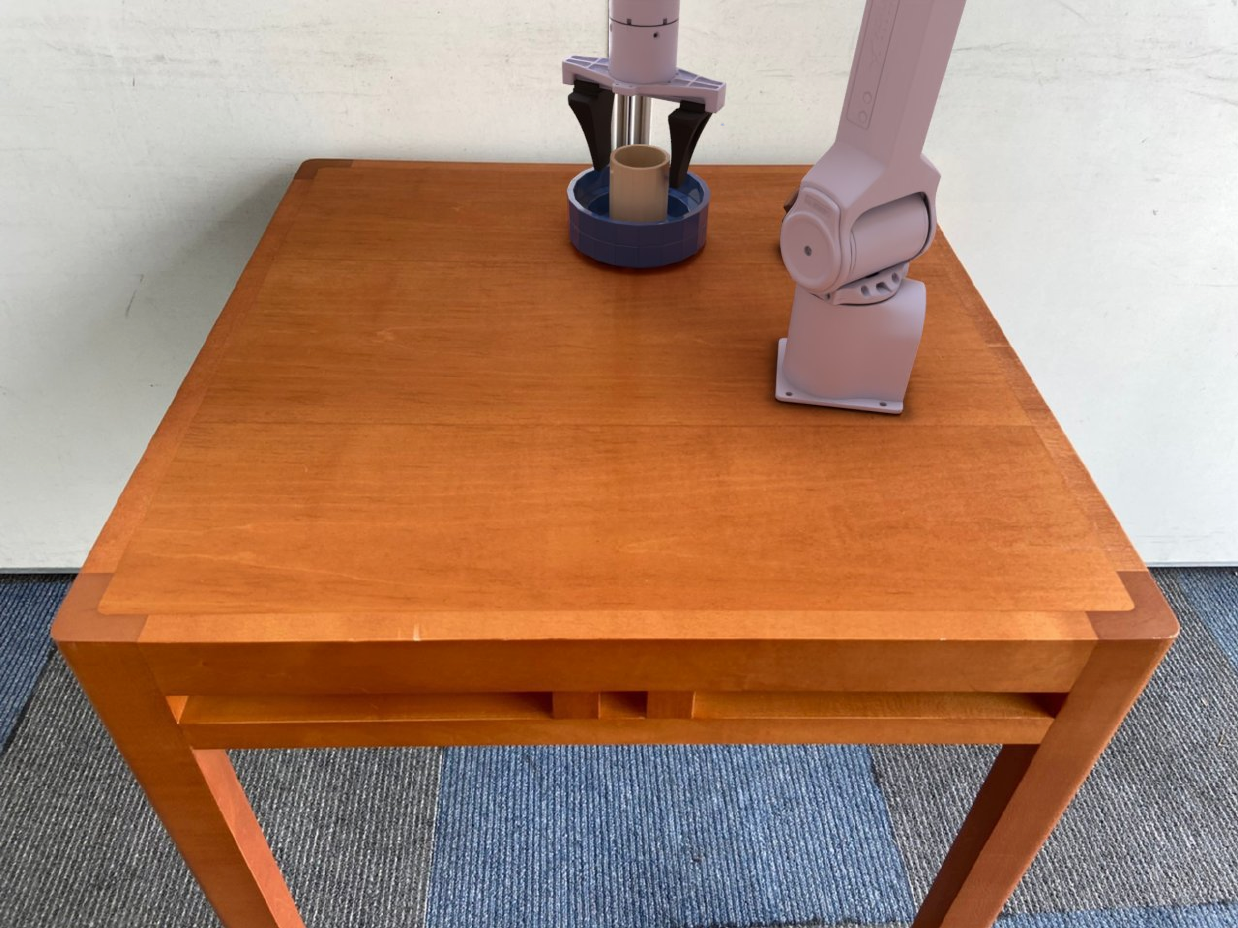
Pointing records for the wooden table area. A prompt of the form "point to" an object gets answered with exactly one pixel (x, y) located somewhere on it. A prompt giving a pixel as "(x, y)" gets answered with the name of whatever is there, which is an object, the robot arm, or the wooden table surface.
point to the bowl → (636, 223)
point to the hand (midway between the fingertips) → (639, 175)
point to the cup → (639, 183)
